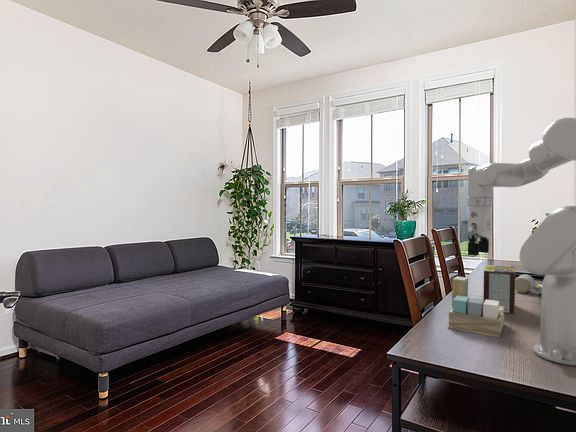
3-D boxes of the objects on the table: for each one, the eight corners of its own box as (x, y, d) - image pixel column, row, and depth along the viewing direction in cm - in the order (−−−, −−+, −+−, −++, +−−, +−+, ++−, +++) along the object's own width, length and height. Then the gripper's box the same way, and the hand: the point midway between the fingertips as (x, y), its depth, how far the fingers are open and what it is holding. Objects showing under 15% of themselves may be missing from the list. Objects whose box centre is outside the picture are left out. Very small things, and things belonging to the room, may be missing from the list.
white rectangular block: (496, 322, 113) (497, 306, 112) (483, 319, 115) (483, 304, 115) (499, 316, 118) (499, 301, 118) (485, 314, 120) (486, 299, 120)
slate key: (480, 319, 115) (481, 303, 115) (467, 317, 117) (467, 301, 117) (483, 314, 121) (484, 299, 121) (470, 312, 123) (471, 297, 123)
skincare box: (456, 306, 144) (456, 276, 144) (468, 308, 141) (468, 277, 141) (451, 310, 139) (452, 278, 139) (463, 312, 136) (464, 280, 136)
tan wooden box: (499, 337, 110) (500, 317, 110) (447, 328, 118) (448, 309, 118) (503, 323, 123) (504, 305, 123) (456, 316, 132) (457, 298, 131)
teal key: (465, 316, 118) (465, 301, 117) (452, 314, 120) (453, 299, 120) (469, 311, 123) (469, 297, 123) (456, 309, 125) (457, 295, 125)
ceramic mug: (511, 291, 170) (512, 275, 170) (516, 289, 176) (517, 273, 176) (538, 296, 163) (539, 279, 162) (542, 293, 168) (543, 276, 168)
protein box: (513, 305, 147) (514, 266, 147) (514, 314, 134) (515, 272, 134) (484, 301, 153) (485, 264, 152) (482, 310, 139) (483, 270, 139)
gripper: (482, 202, 114) (481, 257, 114) (500, 203, 126) (498, 252, 126) (458, 202, 119) (456, 255, 120) (476, 203, 131) (475, 250, 132)
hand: (478, 253), depth 123 cm, fingers open, 9 cm apart
